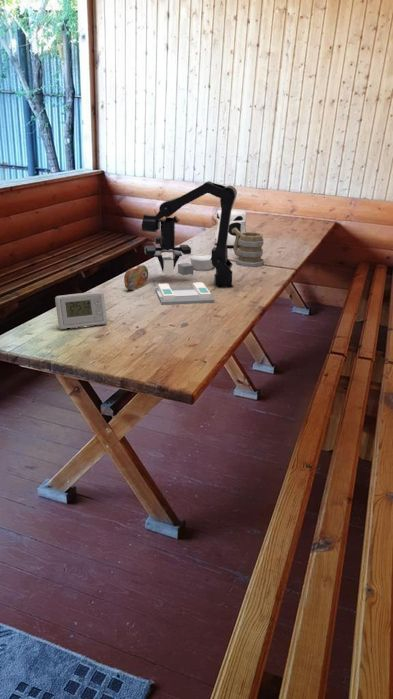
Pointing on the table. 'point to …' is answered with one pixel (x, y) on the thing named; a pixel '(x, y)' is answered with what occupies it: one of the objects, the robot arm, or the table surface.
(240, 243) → the tankard
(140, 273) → the tin
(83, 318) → the digital clock
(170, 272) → the block
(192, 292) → the rail board
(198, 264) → the ramekin
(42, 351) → the table surface
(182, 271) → the loose block
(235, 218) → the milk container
